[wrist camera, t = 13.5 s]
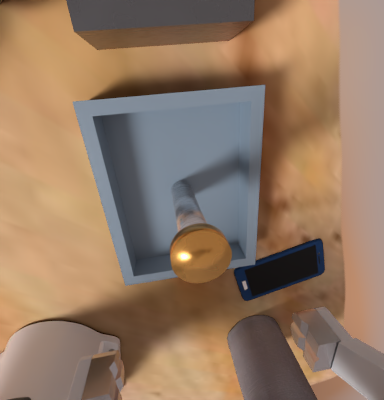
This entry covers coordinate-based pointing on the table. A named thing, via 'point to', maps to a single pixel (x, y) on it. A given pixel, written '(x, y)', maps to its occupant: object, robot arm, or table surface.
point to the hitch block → (158, 21)
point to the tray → (175, 170)
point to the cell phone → (281, 270)
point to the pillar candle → (266, 362)
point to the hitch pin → (196, 240)
